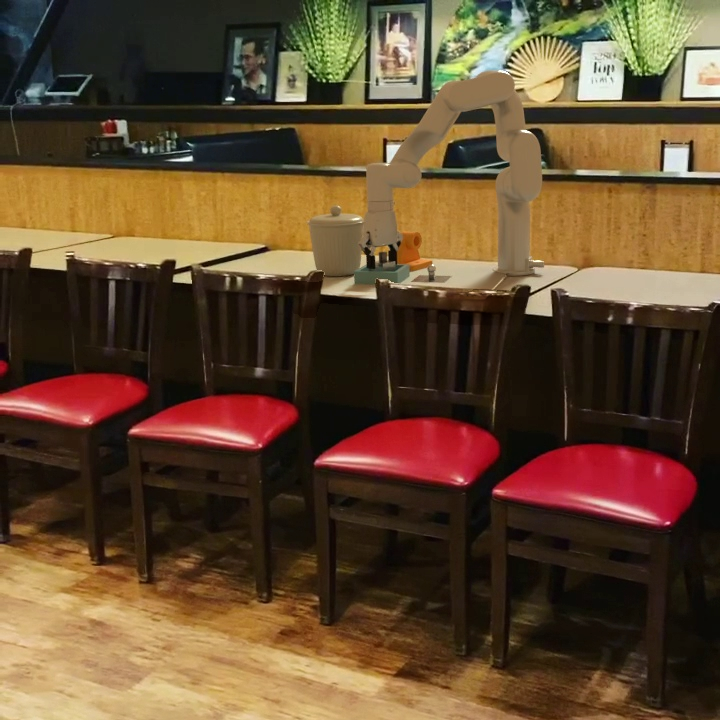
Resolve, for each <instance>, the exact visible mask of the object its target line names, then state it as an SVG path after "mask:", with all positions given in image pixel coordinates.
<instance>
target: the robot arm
mask: <svg viewBox="0 0 720 720" xmlns="http://www.w3.org/2000/svg"><path fill="white" fill-rule="evenodd" d="M515 87H516V86H515V79H514V77H513V76H512V75H511V74H510V73H508V72H507V71H504V70H484V71H482V72H480V73H478V74H477V75H476V76H475V77H472V78H468V79H463V80H451V81H447V82H446V83H444V84H443V85H442V86H441V87H440V89H439V90H438V92H437V94H436V95H435V96H434V99H433V100H432V102H431V103H430V105H429V106H428V108H427V110H426V112H425V113H424V114H423V116H422V118H421V120H420V121H419V122H418V123H417V125H416V127H415V128H414V129H413V130H412V131H411V132H410V134H409V135H407V137H406V138H405V139H404V141H403V142H402V143H401V144H400V146H399V147H398V149H397V150H396V152H395V154H394V155H393V157H392V158H391V160H390V162H389V163H388V162H373V163H369V164H368V165H367V166H366V170H365V171H366V172H365V174H366V201H367V205H366V206H367V209H366V211H367V212H365V214H364V218H363V219H364V227H363V238H362V239H361V240H360V241H359V245H360V247H361V249H362V252H363V254H364V255H365V257H366V261H365V263H366V264H365V265H367V268H368V269H375V268H376V266H375V261H376V255H374V254H375V252H376V250H377V248H380V247H386V246H387V248H388V249H389V250H388V251H387V260H389V261H395V265H397V251H398V250H399V246H400V245H401V241H402V239H403V235H402V234H401V233H402V232H399V231H398V222H397V215H396V211H395V210H394V206H395V204H396V203H395V201H394V188H395V189H396V188H398V189H399V188H400V189H412V188H415V187H416V186H418V185H419V183H420V182H421V180H422V170H421V168H420V167H419V166H418V164H419V163H420V161H421V160H422V158H423V157H424V156H425V155H426V154H427V153H428V152H429V151H430V150H432V149H433V148H434V147H436V146H438V145H439V144H441V143H442V142H443V141H444V140H445V139H446V137H447V135H448V134H449V132H450V130H451V129H452V127H453V125H454V124H455V122H456V121H457V119H458V118H459V116H460V114H461V113H462V112H463V113H464V112H468V111H469V112H470V111H473V110H478V109H482V108H486V107H488V106H490V107H491V110H492V111H493V115H494V123H495V136H496V151H497V155H498V156H499V158H501V159H502V160H503V161H505V162H508V163H509V166H508V167H505V168H503V169H501V171H499V173H498V174H497V177H496V179H495V193H496V194H495V195H496V200H497V201H496V203H497V266H495V267H493V268H492V271H493V272H495V273H501V274H504V276H508V277H513V276H514V277H515V276H516V277H517V276H520V277H521V276H527V275H532V274H534V273H535V272H536V269H535V268H542V269H543V268H545V261H543V260H534V259H533V256H532V255H531V254H530V253H531V251H530V250H531V245H530V242H531V240H530V239H531V208H530V207H531V206H530V202H532V201H534V200H535V199H537V198H538V197H539V195H540V194H541V191H542V187H543V167H542V154H541V153H542V152H541V151H542V150H541V145H540V142H539V139H538V138H537V137H536V135H535V134H534V133H532V132H531V131H529V130H527V129H526V119H525V113H524V112H525V111H524V105H523V101H522V100H521V97H520V95H519V92H518V91H516V88H515ZM530 255H531V256H530Z"/></svg>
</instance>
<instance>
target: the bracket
mask: <svg viewBox="0 0 720 720" xmlns="http://www.w3.org/2000/svg"><path fill="white" fill-rule="evenodd" d="M400 233H401V234H402V235H403V239H402V241H401V245H400V246H399V250H398V251H397V264H407V265H409V271H411V272H414V271H418V270H421V269H422V270H423V269H426V268H428V266H429V265H433V260H432V259H423V258H421V255H420V253H419V249H420V248H421V245H422V241H423V240H422V235H421V234H420V232H417V231H405V230H404V231H402V232H400Z"/></svg>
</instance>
